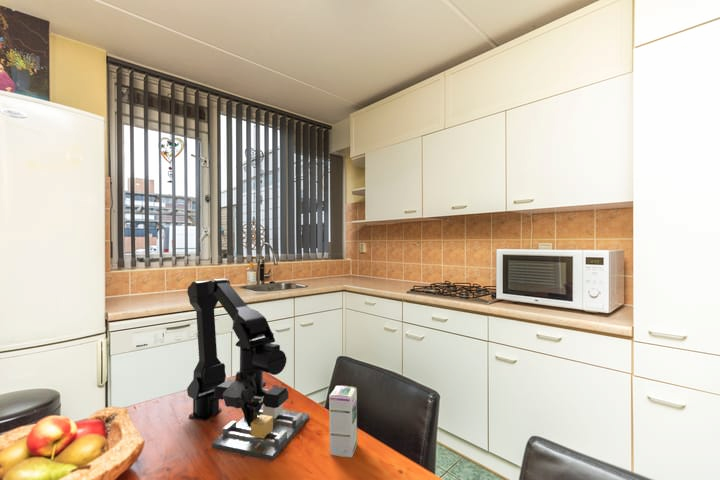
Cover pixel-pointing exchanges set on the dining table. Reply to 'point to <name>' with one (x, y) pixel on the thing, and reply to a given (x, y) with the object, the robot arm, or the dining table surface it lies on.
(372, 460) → the dining table surface
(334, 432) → the syrup box
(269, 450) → the console
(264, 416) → the fader amber
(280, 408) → the fader ivory
